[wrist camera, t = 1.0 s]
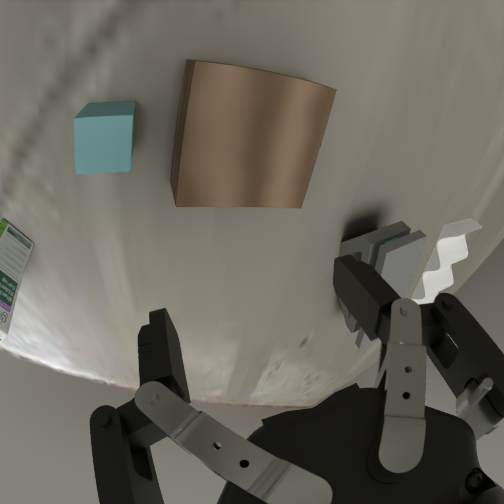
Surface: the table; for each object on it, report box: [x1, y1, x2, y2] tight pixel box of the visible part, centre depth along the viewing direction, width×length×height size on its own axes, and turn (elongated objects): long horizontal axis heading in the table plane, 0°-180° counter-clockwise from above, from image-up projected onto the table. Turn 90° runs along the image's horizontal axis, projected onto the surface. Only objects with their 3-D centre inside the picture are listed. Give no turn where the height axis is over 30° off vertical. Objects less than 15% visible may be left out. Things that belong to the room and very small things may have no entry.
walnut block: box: [170, 60, 336, 208], centre depth 29 cm, size 14×14×6 cm
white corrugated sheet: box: [410, 218, 483, 304], centre depth 69 cm, size 13×35×5 cm, turn 0°
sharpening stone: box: [339, 221, 426, 349], centre depth 49 cm, size 25×8×11 cm, turn 7°
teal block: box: [74, 101, 136, 175], centre depth 24 cm, size 5×5×7 cm
